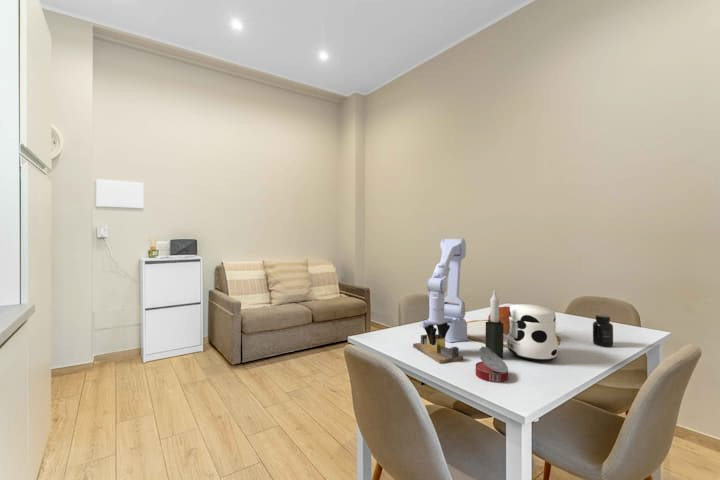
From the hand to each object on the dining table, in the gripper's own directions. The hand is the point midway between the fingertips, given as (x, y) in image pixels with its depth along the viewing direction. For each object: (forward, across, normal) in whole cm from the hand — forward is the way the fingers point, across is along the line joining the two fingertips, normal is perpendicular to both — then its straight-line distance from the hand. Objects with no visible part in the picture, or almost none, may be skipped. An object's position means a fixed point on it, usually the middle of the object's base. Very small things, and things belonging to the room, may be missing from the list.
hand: (436, 343), depth 127 cm
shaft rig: (+4, 0, 0) cm, 4 cm away
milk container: (+4, -30, +19) cm, 36 cm away
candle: (+4, -17, +13) cm, 21 cm away
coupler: (+2, 0, 0) cm, 2 cm away
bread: (+4, -51, -3) cm, 51 cm away
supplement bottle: (+4, -68, +24) cm, 72 cm away
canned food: (+4, -2, +24) cm, 25 cm away
